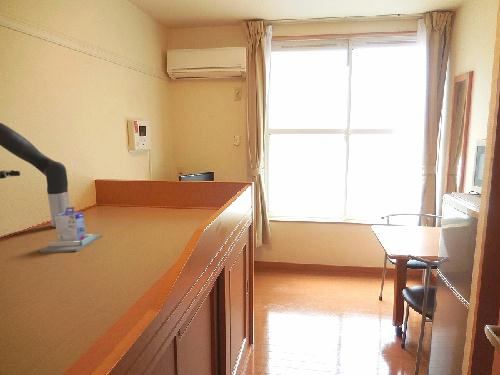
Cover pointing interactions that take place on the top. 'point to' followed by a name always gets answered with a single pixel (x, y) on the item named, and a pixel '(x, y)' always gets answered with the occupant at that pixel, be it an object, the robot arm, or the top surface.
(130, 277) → the top surface
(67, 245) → the rail plate
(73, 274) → the top surface
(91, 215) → the top surface
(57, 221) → the ink cartridge box
